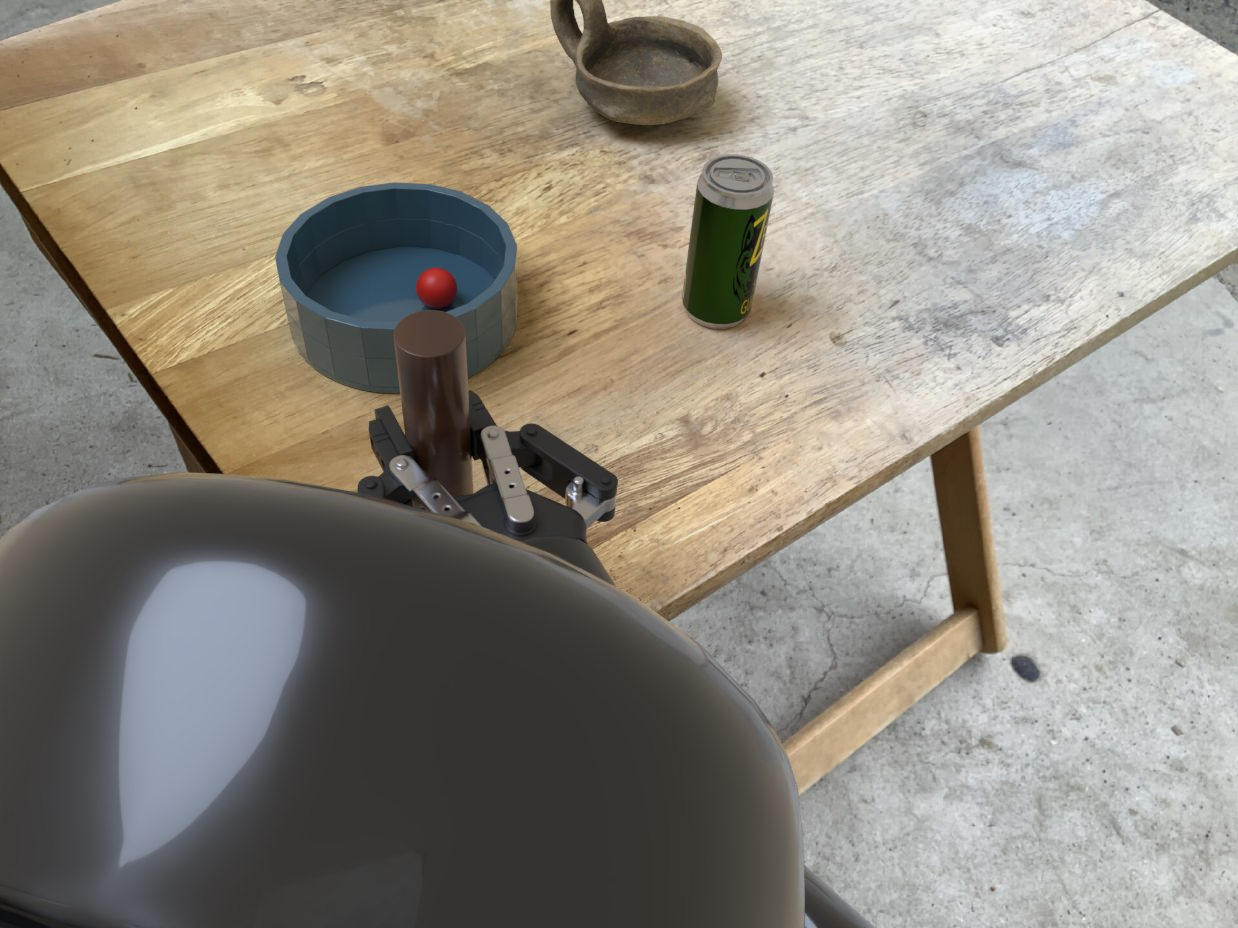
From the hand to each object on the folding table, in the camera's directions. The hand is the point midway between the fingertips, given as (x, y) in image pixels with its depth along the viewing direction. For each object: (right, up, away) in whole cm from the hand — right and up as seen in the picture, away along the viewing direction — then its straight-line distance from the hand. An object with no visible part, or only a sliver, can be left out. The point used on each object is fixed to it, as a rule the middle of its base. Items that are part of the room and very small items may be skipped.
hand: (417, 408), depth 56 cm
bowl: (+11, +31, +47) cm, 58 cm away
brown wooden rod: (+1, -9, +6) cm, 11 cm away
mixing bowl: (-6, +8, +25) cm, 27 cm away
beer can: (+18, +9, +28) cm, 34 cm away
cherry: (-3, +10, +24) cm, 26 cm away
